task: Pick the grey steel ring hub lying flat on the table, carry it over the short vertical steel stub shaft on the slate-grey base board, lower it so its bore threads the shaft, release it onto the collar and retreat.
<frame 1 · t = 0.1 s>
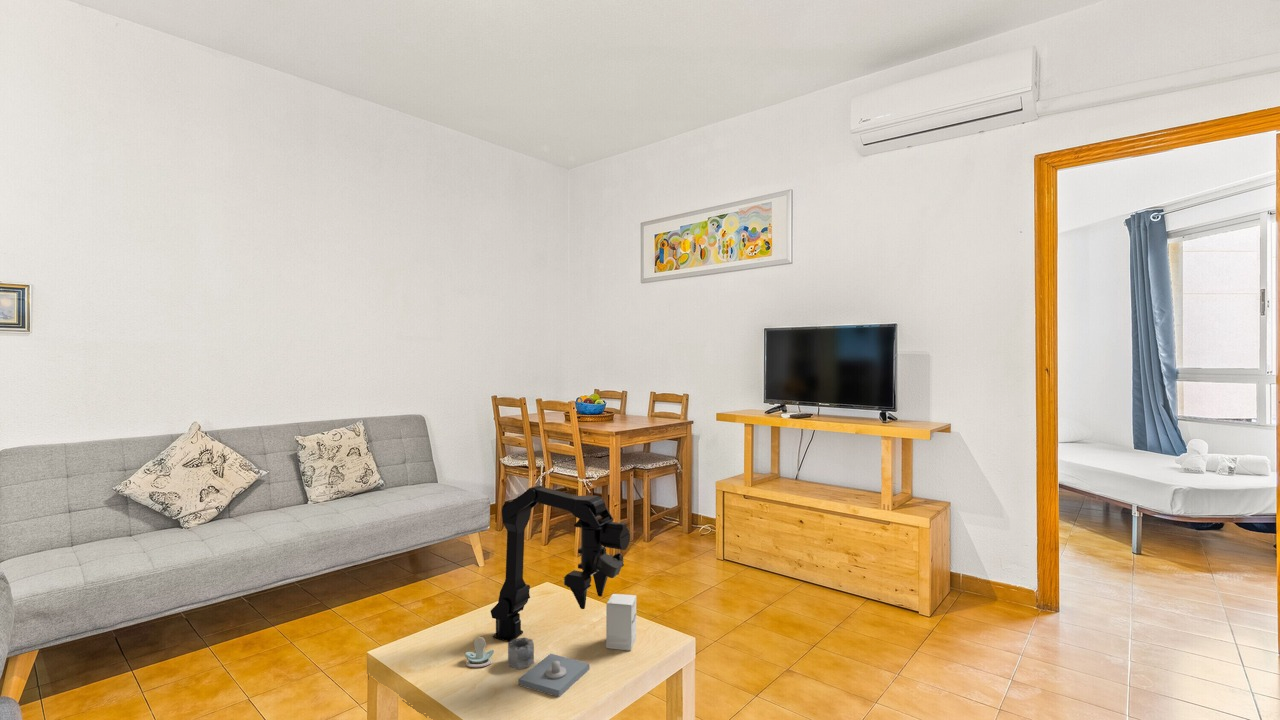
hand: (591, 602, 160), 15 cm above the table, fingers open, 9 cm apart
pacifier: (479, 663, 156), on the table
hub: (520, 662, 156), on the table
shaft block: (554, 676, 149), on the table
supplement box: (621, 644, 167), on the table
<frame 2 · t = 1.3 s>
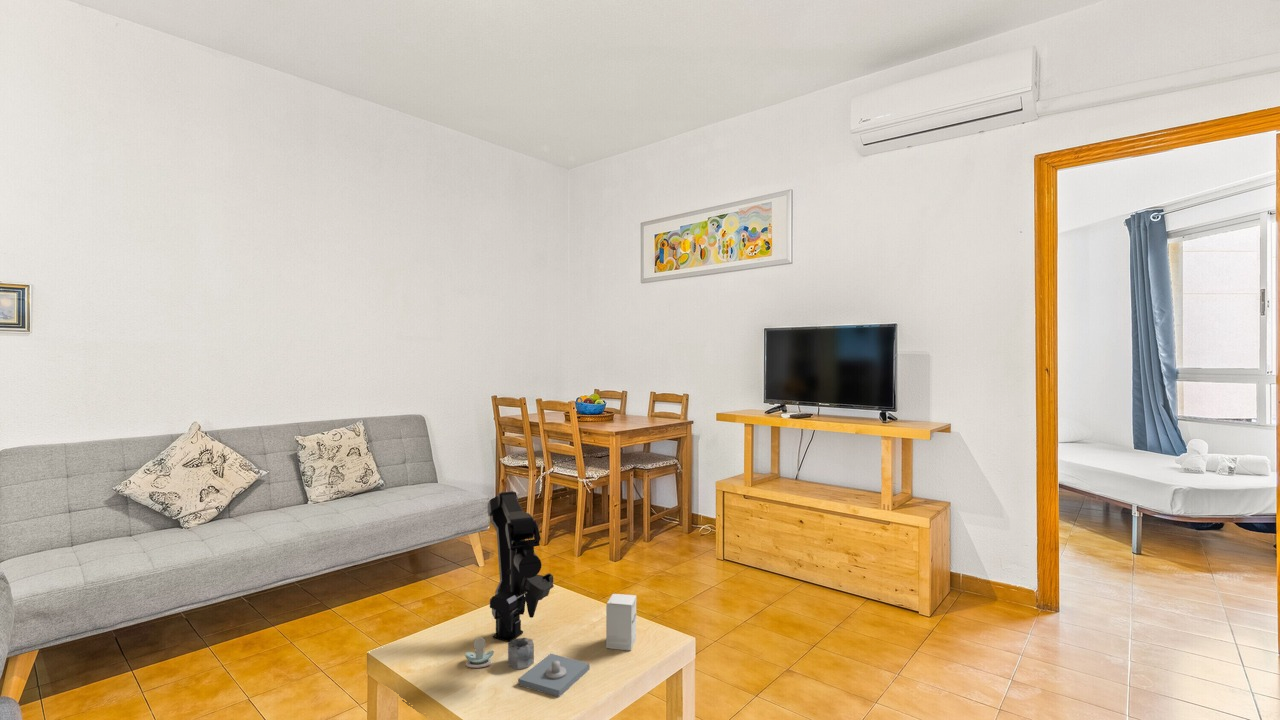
hand: (520, 624, 156), 10 cm above the table, fingers open, 9 cm apart
nothing on the table moved.
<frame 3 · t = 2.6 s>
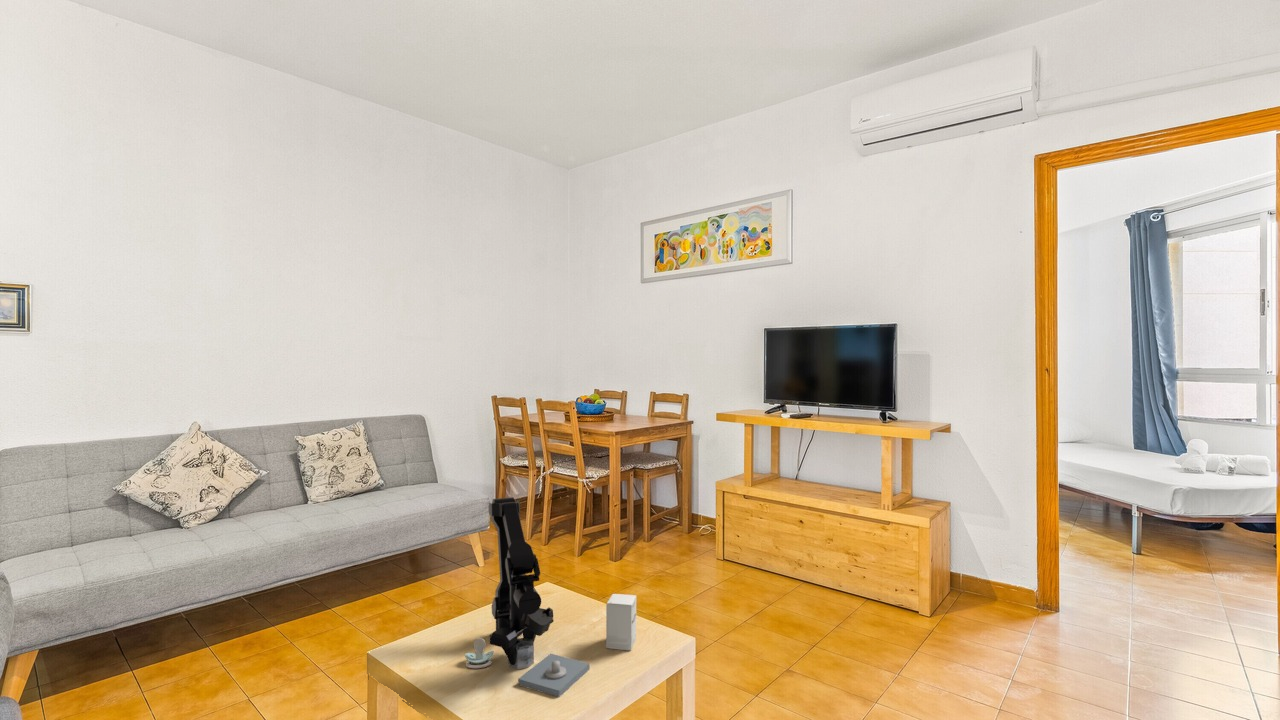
hand: (520, 658, 156), 1 cm above the table, fingers closed on hub, 6 cm apart
hub: (520, 662, 156), on the table, touching gripper
everything else where it was.
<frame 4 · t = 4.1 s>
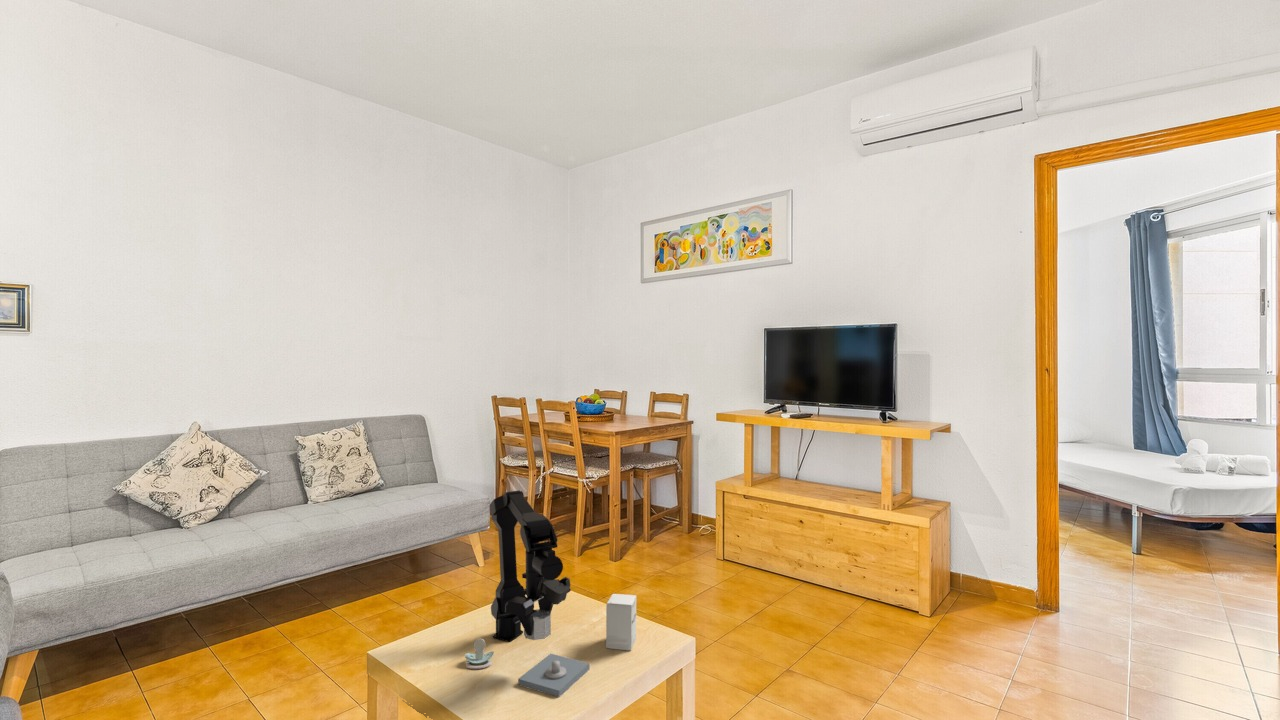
hand: (537, 630, 152), 11 cm above the table, fingers closed on hub, 6 cm apart
hub: (537, 634, 152), point 10 cm above the table, touching gripper
everything else where it was.
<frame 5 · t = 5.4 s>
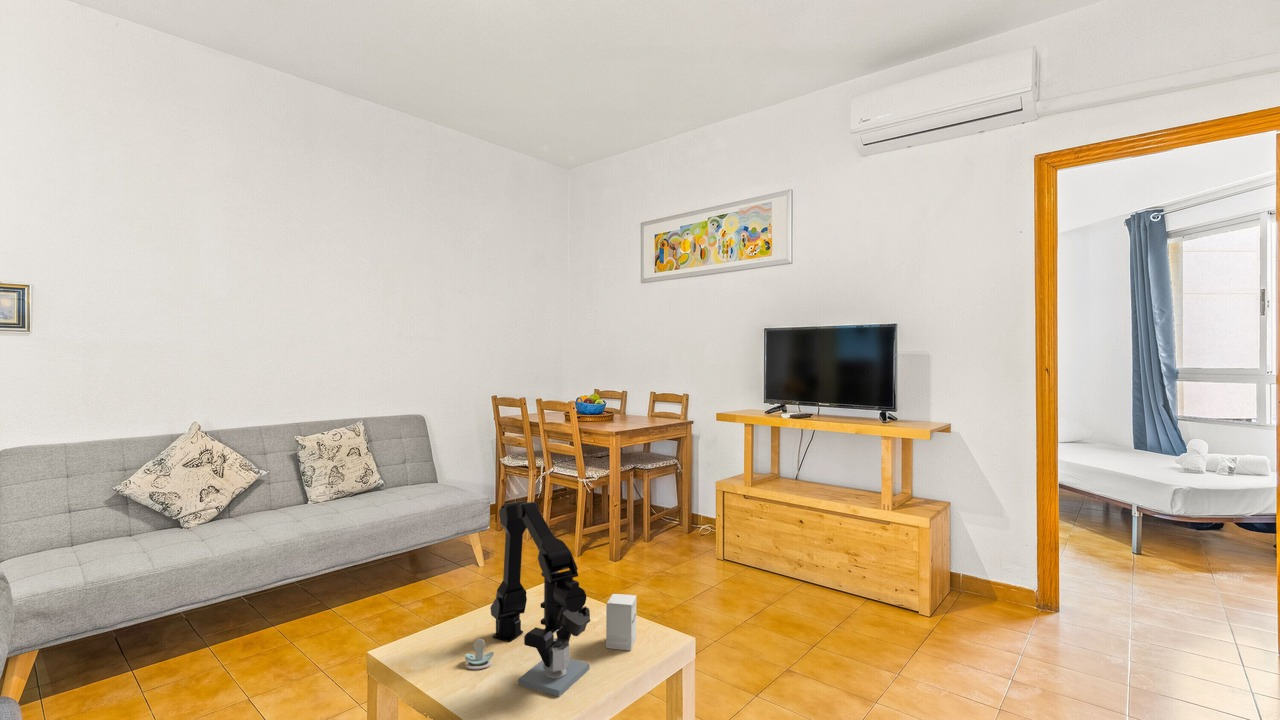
hand: (555, 660, 148), 5 cm above the table, fingers closed on hub, 6 cm apart
hub: (555, 664, 148), point 4 cm above the table, touching gripper
when the fingers open (4 cm above the table, at t = 6.0 s): hub drops 1 cm, resting on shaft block.
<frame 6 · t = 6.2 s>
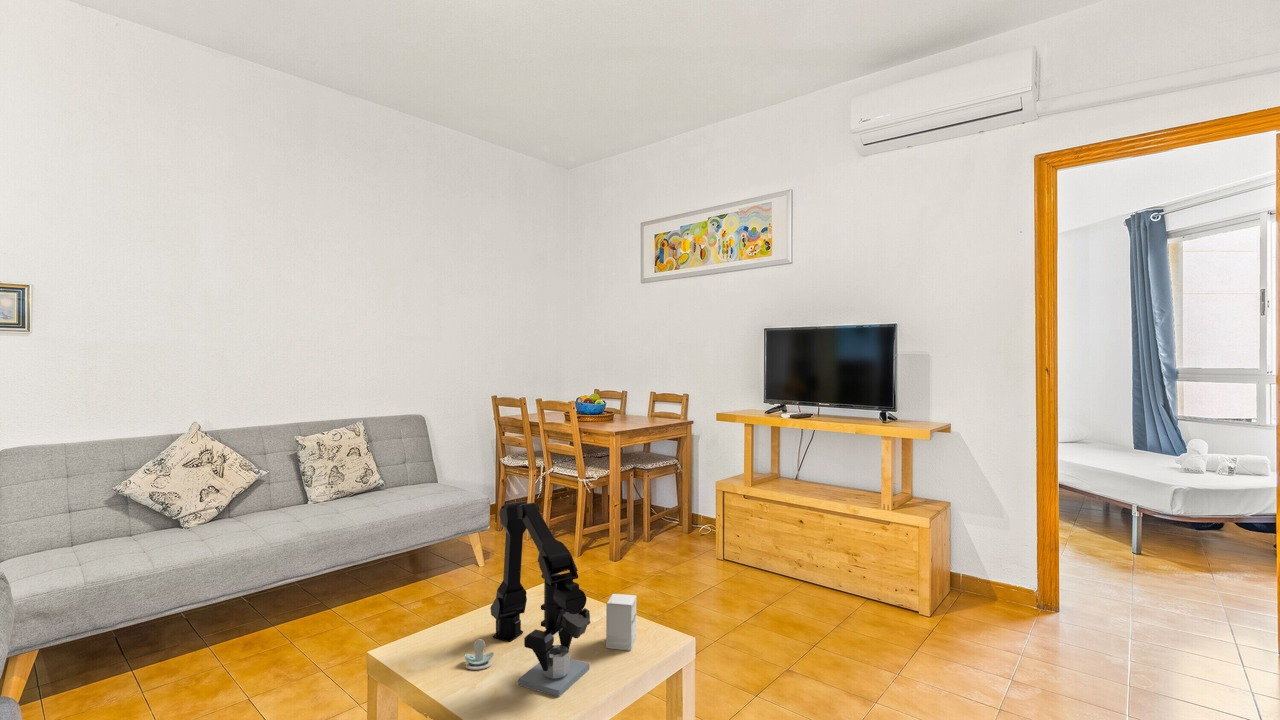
hand: (555, 662, 148), 4 cm above the table, fingers open, 8 cm apart
hub: (555, 671, 148), point 2 cm above the table, touching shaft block
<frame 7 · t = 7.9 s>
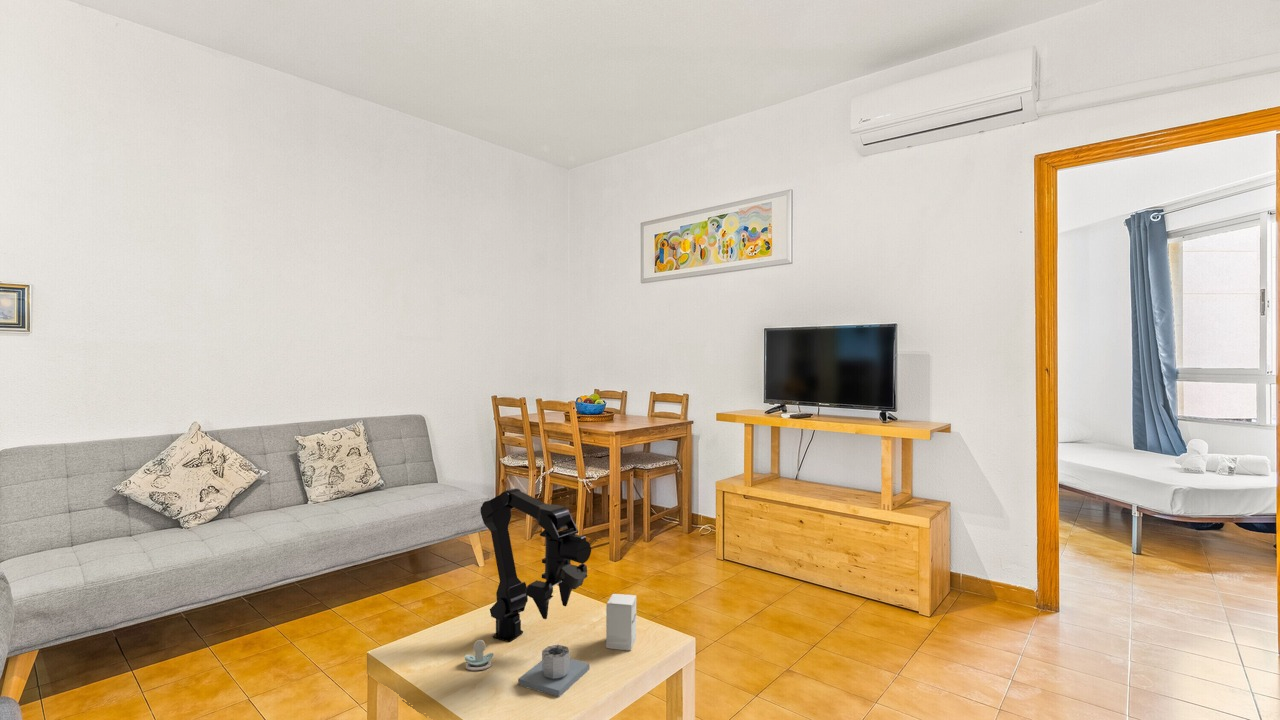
hand: (555, 612, 160), 12 cm above the table, fingers open, 9 cm apart
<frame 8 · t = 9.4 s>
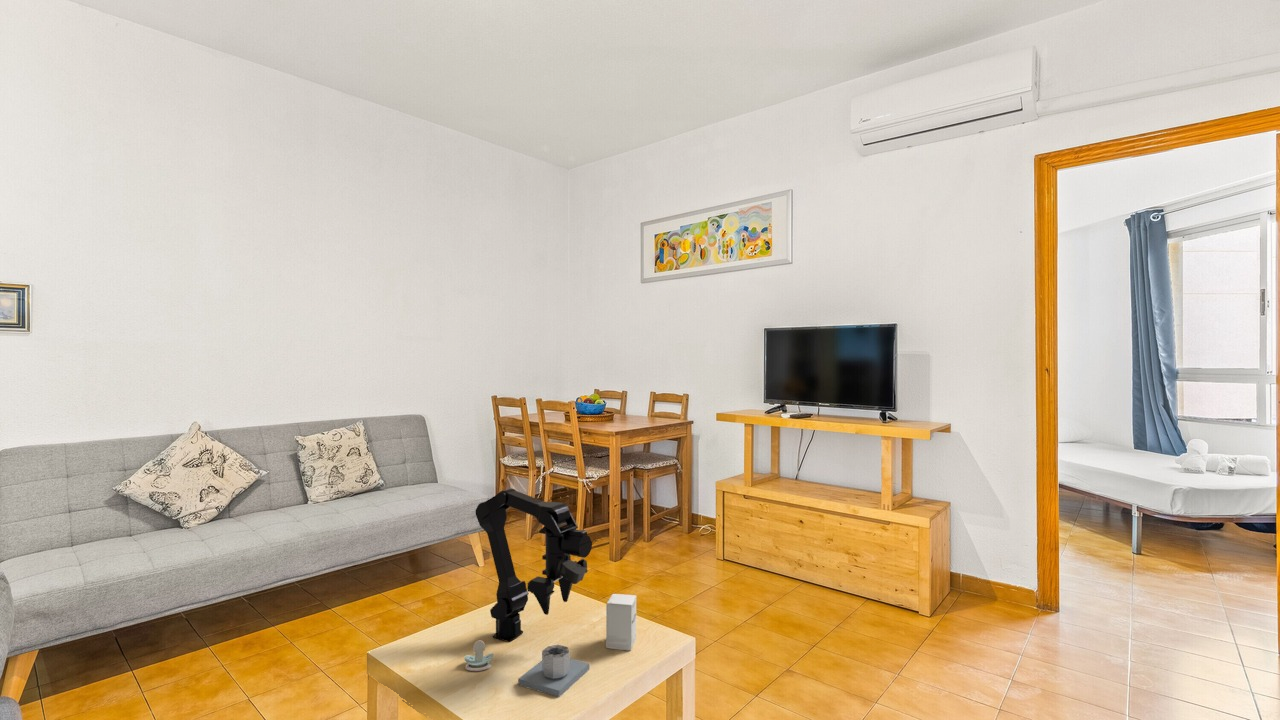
hand: (556, 607, 162), 12 cm above the table, fingers open, 9 cm apart
at the end: hub 0.0 cm from the target spot on the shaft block, point 2.1 cm above the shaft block's base; hub tilted 0°; the gripper is holding nothing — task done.
